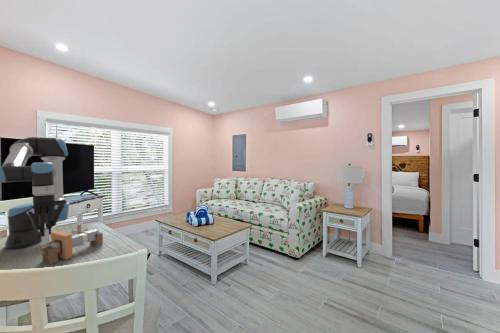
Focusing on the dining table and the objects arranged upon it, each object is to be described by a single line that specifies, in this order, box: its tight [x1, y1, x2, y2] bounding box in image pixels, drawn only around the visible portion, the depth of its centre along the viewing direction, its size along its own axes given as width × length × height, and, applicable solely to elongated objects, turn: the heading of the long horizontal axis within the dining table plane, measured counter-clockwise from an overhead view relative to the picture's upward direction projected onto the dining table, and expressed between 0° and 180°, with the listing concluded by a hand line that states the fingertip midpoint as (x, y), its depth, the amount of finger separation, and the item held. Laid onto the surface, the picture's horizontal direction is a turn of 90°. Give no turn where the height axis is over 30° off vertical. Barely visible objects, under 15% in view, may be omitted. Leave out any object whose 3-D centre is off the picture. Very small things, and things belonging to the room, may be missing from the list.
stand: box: [41, 231, 104, 265], centre depth 116 cm, size 7×25×7 cm, turn 158°
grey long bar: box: [46, 228, 100, 253], centre depth 116 cm, size 5×22×5 cm, turn 158°
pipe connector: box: [70, 223, 89, 235], centre depth 133 cm, size 10×10×10 cm
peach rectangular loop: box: [50, 230, 74, 260], centre depth 111 cm, size 12×3×12 cm, turn 68°
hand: (45, 241), depth 105 cm, fingers closed
